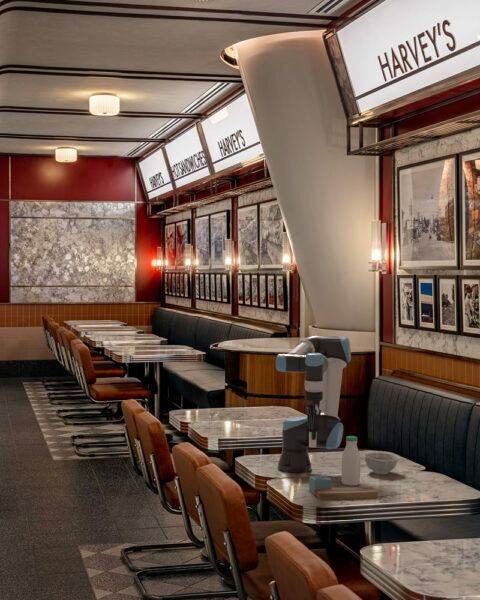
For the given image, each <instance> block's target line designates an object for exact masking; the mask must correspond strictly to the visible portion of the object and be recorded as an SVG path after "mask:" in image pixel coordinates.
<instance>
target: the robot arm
mask: <svg viewBox="0 0 480 600" xmlns="http://www.w3.org/2000/svg"><path fill="white" fill-rule="evenodd" d="M275 358H276V359H275V369H276V371H278V372H283V373H300V374H301V373H304V374H305V375H304V382H303V385H304V390H305V391H304V400H305V401H308V402H307V403H308V404H306V405H305V406H306V416H296V417H295V416H294V417H290V418H286V419H284V420H283V422H282V428H281V431H282V434H281V435H282V439H281V440H282V441H281V445H282V446H281V447H282V448H281V454H280V457H279V459H278V461H277V470H279V471H281V472H286V473H287V472H288V473H307V472H311V471H312V462H311V459H310V455H309V448H317V449H327V450H333V449H334V450H335V449H339V447H340V445H341V442H342V439H343V434H344V433H343V432H344V425H343V423H342V422H341V419H340V417H339V416H338V412H339V405H340V396H341V387H342V378H343V369H344V368H347V363H350V362H351V360H352V354H351V344H350V339H349V337H346V336H340V335H339V336H337V335H336V336H334V335H311V336H308V337H305V338H302V339H301V340H298V342H297V343H296V344H295V345H294V348H293V349H291V350H289V352H288V353H279V354H277V356H276V357H275Z"/></svg>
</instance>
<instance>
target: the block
mask: <svg viewBox="0 0 480 600" xmlns="http://www.w3.org/2000/svg"><path fill="white" fill-rule="evenodd" d="M308 480H309V481H308V483H309V484H308V487H309V489H308V491H309V492H310V493H311V494H313V495H314V489H318V488H332V479H331V478H330V477H328V476H327V475H313V476H312V475H310V476H309V479H308Z"/></svg>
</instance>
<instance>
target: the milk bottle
mask: <svg viewBox="0 0 480 600" xmlns="http://www.w3.org/2000/svg"><path fill="white" fill-rule="evenodd" d="M345 442H346V444H345V445H346V446H345V448H344V449H343V452H342V456H341V479H340V480H341V485H345V486H351V487H352V486H353V487H355V486H359V485H360V483H361V454H360V451H359V449H358V445H357V444H358V436H355V435H348V436H346V437H345Z"/></svg>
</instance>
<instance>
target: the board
mask: <svg viewBox="0 0 480 600" xmlns="http://www.w3.org/2000/svg"><path fill="white" fill-rule="evenodd" d="M313 496H315V497H316V498H317V499H318V500H319V501H325V500H326V501H328V500H329V501H331V500H332V501H333V500H355V499H356V500H357V499H358V500H360V499H359V498H364V499H379V491H378V490H377V489H375V488H374V487H372V486H358V487H355V486H353V487H352V486H351V487H331V488H318V489H314V494H313Z"/></svg>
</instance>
